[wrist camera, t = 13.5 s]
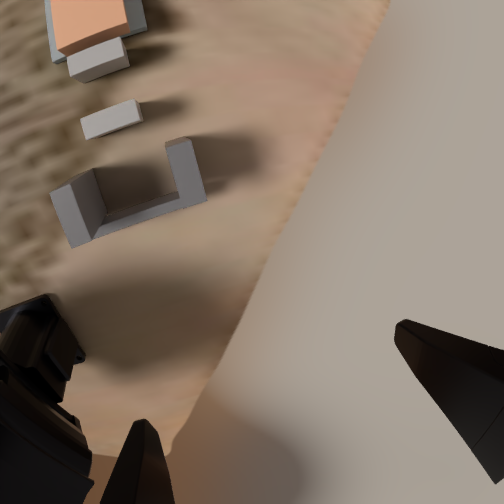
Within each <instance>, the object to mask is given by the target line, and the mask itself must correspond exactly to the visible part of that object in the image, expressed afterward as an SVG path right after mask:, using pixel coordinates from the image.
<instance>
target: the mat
mask: <svg viewBox="0 0 504 504" xmlns="http://www.w3.org/2000/svg"><path fill="white" fill-rule="evenodd" d="M124 4H125V9H126V14H127V19H128V24H129V28H130V33H128V34H125V35H122V36H119V37H121V38H123V37H127V36H130V35H133V34H136V33H139V32H143V31H146V30H147V24H146V20H145V15H144V10H143V5H142V1H141V0H124ZM45 11H46V21H47V29H48V37H49V44H50V50H51V57H52V62H53V63H55V64H58V63H60V62H62V61H65V60H67V57H66V56H65V55H64V54H62V53H61V52H59V51H58V50H57V47H56V41H55V34H54V27H53V20H52V12H51V2H50V0H45ZM116 38H117V37H116ZM113 39H114V38H113ZM110 40H111V39H110ZM107 41H108V40H107ZM105 42H106V41H105ZM102 43H103V42H102ZM99 44H100V43H99ZM97 45H98V44H97ZM94 46H95V45H94ZM89 48H90V47H89ZM84 50H85V49H84ZM77 53H78V52H77ZM68 57H69V56H68Z"/></svg>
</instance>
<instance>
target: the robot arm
mask: <svg viewBox="0 0 504 504" xmlns="http://www.w3.org/2000/svg"><path fill="white" fill-rule="evenodd" d="M43 301H46V303H47V304H45V303H44V302H43ZM0 333H1V335H0V504H83V502H84V500H85V497H86V495H87V493H88V492H89V490H90V489H91V488H92V486H93V485H94V480H92V479H90V478H89V475H90V470H91V466H92V451H91V450H89V449H88V445H87V441H86V438H85V436H84V434H83V433H82V429H81V425H80V421H79V419H78V418H76V417H75V416H74V415H71V414H69V413H68V412H67V411H66V410H64V409H63V408H62V407H61V406H59V405H58V404H57V403H60V402H63V397H64V392H65V387H66V382H67V381H70V378H71V374H72V369H73V365H75V364H79V363H82V362H84V361H85V357H86V355H85V353H84V352H83V350H82V349H81V347H80V346H79V343H78V341H77V340H76V338H75V337H74V335H73V334H72V332H71V330H70V329H69V327H68V326H67V324H66V322H65V321H64V319H62V318H61V316H60V314H59V313H58V311H57V309H56V308H55V306H54V304H53V302H52V301H51V299H50V298H49V297H48V296H47V295H41V296H39V297H36V298H33V299H31V300H28V301H25V302H23V303H20V304H17V305H15V306H12V307H10V308H7V309H4V310H2V311H0ZM394 342H395V345H396V346H397V348H398V350H399V351H400V353H401V354H402V356H403V358H404V359H405V361H406V362H407V364H408V365H409V367H410V369H411V370H412V372H413V373H414V375H415V376H416V378H417V379H418V380H419V382H420V383H421V384H422V385H423V387H424V388H425V389H426V391H427V392H428V393H429V394H430V396H431V397H432V398H433V400H434V401H435V402H436V404H437V405H438V406H439V407H440V409H441V410H442V411H443V413H444V414H445V415H446V417H447V418H448V419H449V421H450V422H451V423H452V425H453V426H454V427H455V429H456V430H457V431H458V433H459V434H460V435H461V437H462V438H463V440H464V441H465V442H466V444H467V445H468V447H469V448H470V449H471V451H472V452H473V454H474V455H475V457H476V458H477V459H478V461H479V462H480V464H481V465H482V466H483V468H484V469H485V471H486V472H487V474H488V475H489V476H490V478H491V480H492V481H493V482H494V483H495V484H497V483H498V482H499V481H500V480H502V479H503V478H504V350H501V349H498V348H494V347H491V346H488V345H485V344H482V343H478V342H476V341H472V340H469V339H466V338H463V337H460V336H457V335H454V334H451V333H448V332H445V331H442V330H438V329H436V328H432V327H429V326H426V325H423V324H420V323H417V322H414V321H411V320H408V319H405V320H402V321H400V322H399V323H397V324H396V328H395V336H394ZM78 356H81V357H78ZM100 504H175V501H174V496H173V491H172V485H171V479H170V475H169V471H168V467H167V463H166V460H165V456H164V453H163V449H162V445H161V442H160V438H159V435H158V432H157V431H156V429H155V428H154V427H153V426H152V425H151V424H150V423H149V421H148V420H146V419H140V420H136V421H134V422H133V424H132V427H131V429H130V431H129V434H128V436H127V438H126V441H125V443H124V445H123V448H122V450H121V452H120V455H119V457H118V460H117V462H116V464H115V467H114V469H113V472H112V474H111V476H110V479H109V481H108V484H107V486H106V488H105V491H104V494H103V496H102V499H101V501H100Z"/></svg>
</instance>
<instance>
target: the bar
mask: <svg viewBox="0 0 504 504" xmlns="http://www.w3.org/2000/svg"><path fill="white" fill-rule="evenodd" d="M50 2H51V12H52V20H53V27H54V34H55V41H56V47H57V50H58V51H59V52H61V53H62V54H64V55H65V56H66V57H68V56H71V55H73V54H75V53H77V52H80V51H82V50H84V49H87V48H89V47H92V46H94V45H97V44H99V43H102V42H105V41H107V40H110V39H113V38H116V37H119V36H122V35H125V34H128V33H130V28H129V24H128V19H127V14H126V9H125V4H124V0H50Z"/></svg>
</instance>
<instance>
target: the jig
mask: <svg viewBox="0 0 504 504" xmlns="http://www.w3.org/2000/svg"><path fill="white" fill-rule="evenodd" d="M67 63H68V68H69V73H70V77H72V78H74V79H76V80H78V81H80V82H82V83H86V82H89V81H91V80H94V79H96V78H99V77H101V76H104V75H107V74H109V73H112V72H115V71H118V70H120V69H123V68H126V67H129V66H130V64H129V60H128V55H127V51H126V48H125V46H124V44H123V42H122V40H121V37H117V38H114V39H111V40H108V41H106V42H103V43H100V44H98V45H95V46H92V47H90V48H87V49H85V50H82V51H80V52H78V53H75V54H73V55H71V56H69V57H67ZM80 120H81V124H82V127H83V131H84V135H85V138H86V140H89V139H94V138H98V137H101V136H103V135H106V134H109V133H111V132H114V131H117V130H119V129H122V128H125V127H128V126H130V125H133V124H136V123H139V122H142V121H144V120H143V117H142V113H141V109H140V105H139V102H137V101H136V100H135V99H131V100H128V101H125V102H123V103H120V104H117V105H114V106H112V107H109V108H106V109H104V110H101V111H99V112H96V113H94V114H91V115H89V116H86V117H84V118H82V119H80ZM165 148H166V152H167V155H168V159H169V162H170V166H171V169H172V173H173V176H174V180H175V183H176V186H177V190H178V191H177V192H174V193H170V194H167V195H164V196H161V197H158V198H155V199H153V200H150V201H147V202H144V203H141V204H138V205H135V206H132V207H130V208H127V209H124V210H121V211H119V212H116V213H113V214H111V215H108V216H106V214H107V213H108V212H107V209H106V207H105V204H104V201H103V198H102V195H101V193H100V190H99V187H98V184H97V181H96V178H95V175H94V172H93V169H90V170H87V171H85V172H83V173H80V174H78V175H76V176H74V177H73V178H71V179H69V180H68V181H66V182H65V183H63V184H62V185H60V186H59V187H57V188H56V189H54V190H53V191H51V192H50V196H51V199H52V202H53V204H54V207H55V210H56V212H57V215H58V217H59V220H60V222H61V225H62V227H63V230H64V232H65V234H66V237H67V239H68V241H69V244H70V246H71V248H75V247H77V246H80V245H82V244H85V243H87V242H90V241H92V240H93V239H96V238H99V237H101V236H104V235H107V234H109V233H112V232H115V231H117V230H120V229H123V228H126V227H129V226H131V225H134V224H137V223H140V222H143V221H146V220H149V219H151V218H154V217H157V216H160V215H163V214H166V213H169V212H172V211H175V210H178V209H181V208H183V209H184V208H187V207H190V206H193V205H196V204H199V203H203V202H206V201H207V197H206V194H205V190H204V186H203V183H202V179H201V175H200V172H199V168H198V164H197V161H196V157H195V153H194V149H193V146H192V142H191V140H190V139H188V138H186V137H181V138H178V139H174V140H171V141H168V142H165Z"/></svg>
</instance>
